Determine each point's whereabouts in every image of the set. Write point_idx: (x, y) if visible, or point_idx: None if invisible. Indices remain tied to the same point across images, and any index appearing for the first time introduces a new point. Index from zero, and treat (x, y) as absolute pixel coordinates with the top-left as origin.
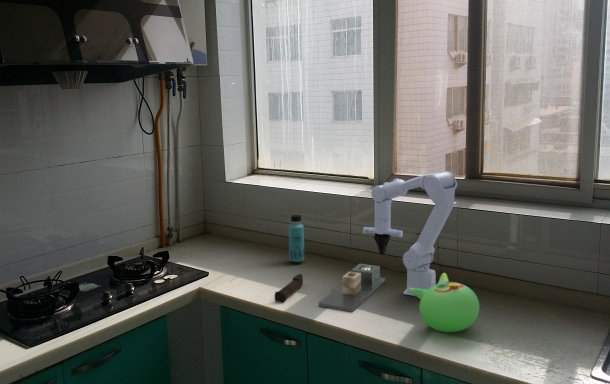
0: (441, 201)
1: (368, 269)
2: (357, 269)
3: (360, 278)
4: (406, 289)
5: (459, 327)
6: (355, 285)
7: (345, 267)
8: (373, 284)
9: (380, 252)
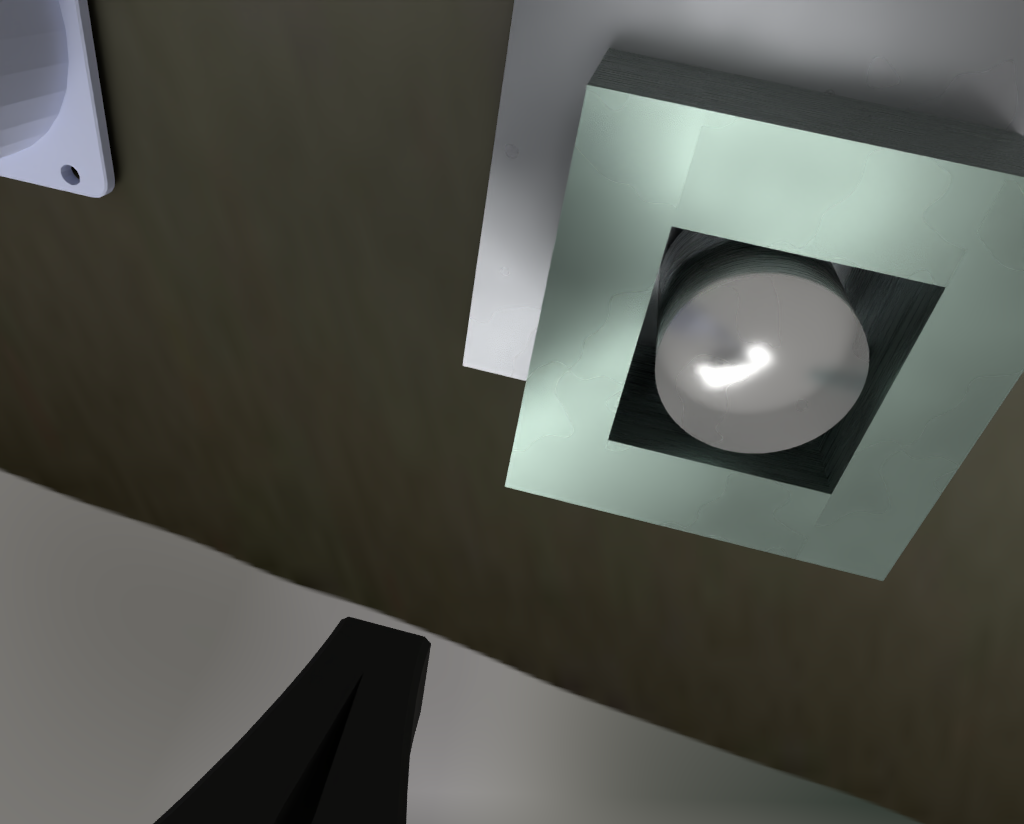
0: None
1: (694, 306)
2: (957, 264)
3: None
4: (75, 20)
5: None
6: None
7: (1016, 706)
8: (584, 51)
9: (390, 668)
